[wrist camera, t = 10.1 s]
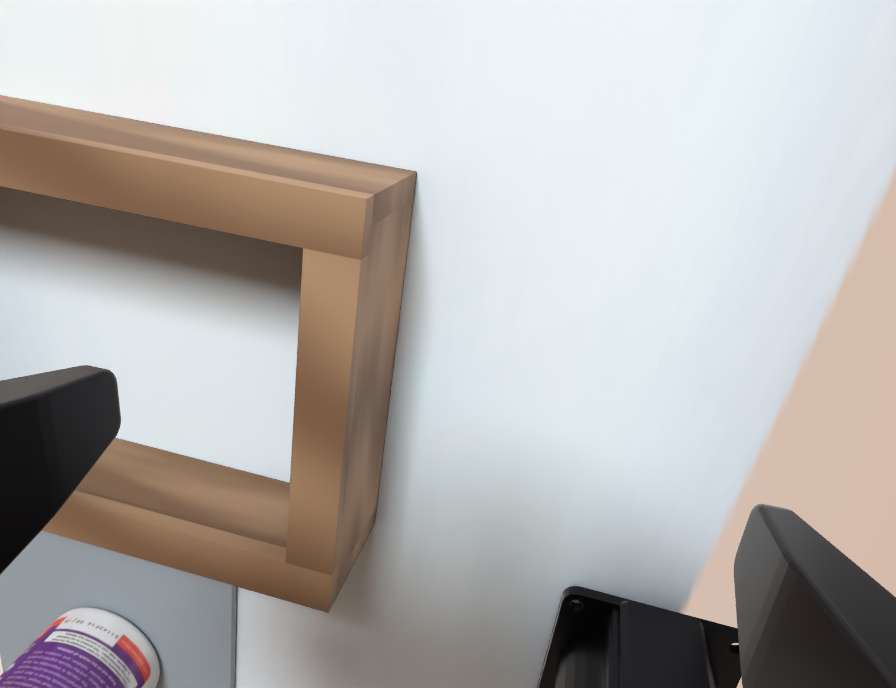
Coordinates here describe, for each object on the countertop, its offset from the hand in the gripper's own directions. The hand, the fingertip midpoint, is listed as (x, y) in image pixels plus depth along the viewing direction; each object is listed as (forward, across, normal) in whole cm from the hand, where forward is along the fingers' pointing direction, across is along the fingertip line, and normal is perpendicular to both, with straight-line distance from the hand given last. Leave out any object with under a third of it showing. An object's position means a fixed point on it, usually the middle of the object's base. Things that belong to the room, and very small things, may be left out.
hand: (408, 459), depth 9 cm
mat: (+12, +16, +21) cm, 29 cm away
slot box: (+12, +13, +4) cm, 18 cm away
